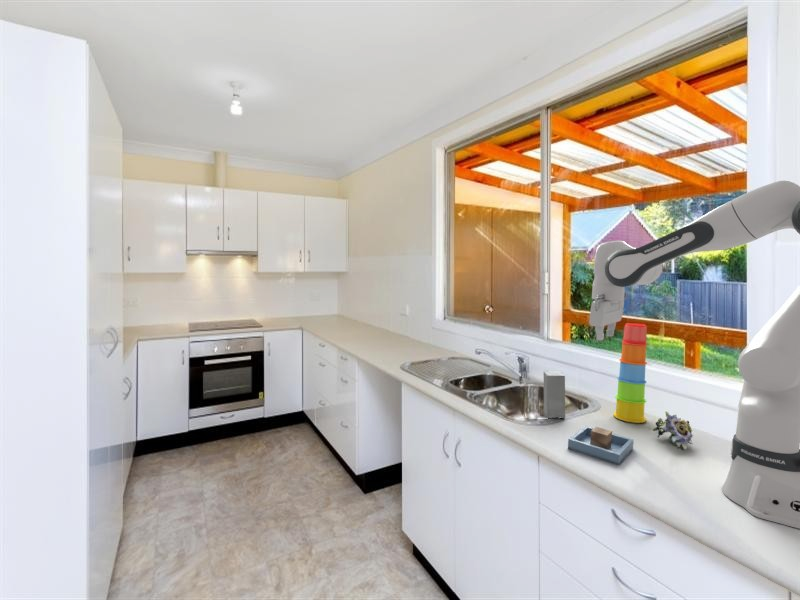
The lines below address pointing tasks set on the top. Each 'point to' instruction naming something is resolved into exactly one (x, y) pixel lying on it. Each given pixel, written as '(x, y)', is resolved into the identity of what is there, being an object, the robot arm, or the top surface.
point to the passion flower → (675, 430)
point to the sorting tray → (613, 455)
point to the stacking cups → (632, 375)
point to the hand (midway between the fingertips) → (605, 338)
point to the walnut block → (601, 438)
